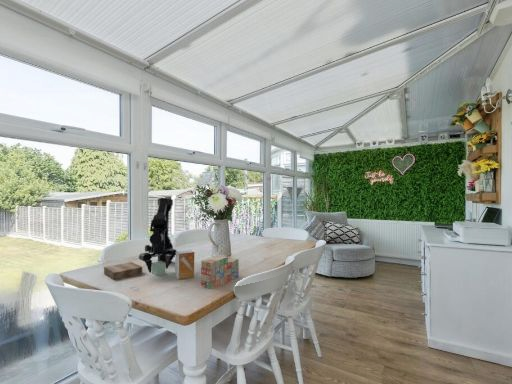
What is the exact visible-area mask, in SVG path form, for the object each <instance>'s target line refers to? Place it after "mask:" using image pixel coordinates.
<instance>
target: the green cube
mask: <svg viewBox="0 0 512 384" xmlns="http://www.w3.org/2000/svg"><path fill="white" fill-rule="evenodd" d="M151 274H152V275H154V276H157V277H158V276H161V275H166V264H165V262H163V261H158V260H157V261H152V269H151Z"/></svg>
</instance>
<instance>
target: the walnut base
mask: <svg viewBox="0 0 512 384" xmlns="http://www.w3.org/2000/svg"><path fill="white" fill-rule="evenodd" d="M103 274H104V275H105V276H107V277H109V278H110V279H111V280H113V281H115V280H119V279H124V278H129V277H134V276H138V275H142V274H143V266H142V265H139V264H137V263H135V262H132V261H130V262H123V263H119V264H112V265H107V266H103Z"/></svg>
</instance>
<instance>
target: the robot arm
mask: <svg viewBox="0 0 512 384" xmlns="http://www.w3.org/2000/svg"><path fill="white" fill-rule="evenodd" d="M173 205H174V199H172V198H170V197H160V198H158V199H157V206H158V207H157V212H156V214H154V215H153V218H152V219H151V221H150V227H149V228H150V229H149V232H152V234H151V235H150V237H149V242H150V243H151V245H150V244H145V245H144V252H142V253H140V254H139V256H138V259H139V261H142V262H144V263H145V265H146V267H147V270H148V272H149V273H150V274H152V262H153V260H152V258H156V257H157V261H163V262H165V270H167V269H169V266H170V264H171V263H173V262H172V261H173V259H174V258H176V251H178V250H177V249H174V245H173V243H172V239H171V238H170V236H169V224H170V222H169V221H170V219H169V218H170V212H171V210H172V208H173Z"/></svg>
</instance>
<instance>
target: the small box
mask: <svg viewBox="0 0 512 384" xmlns="http://www.w3.org/2000/svg"><path fill="white" fill-rule="evenodd" d="M195 255H196V254H195V251H193V250H192V249H186V250H185V249H184V250H177V251H176V255H175V263H174V264H175V265H174V267H175V268H174V269H175V272H174V273H175V274H174V276H175V277H176V279H177V280H184V279H191V278H195Z"/></svg>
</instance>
